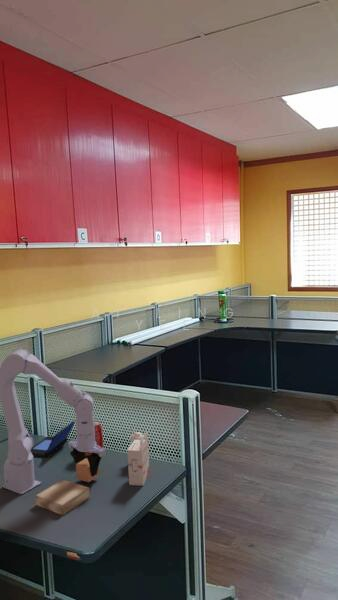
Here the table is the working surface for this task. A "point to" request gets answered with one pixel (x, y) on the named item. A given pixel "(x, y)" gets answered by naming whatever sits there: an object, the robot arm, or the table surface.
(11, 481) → the robot arm
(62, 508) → the birch block
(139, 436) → the white figurine
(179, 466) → the table surface
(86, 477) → the orange cube
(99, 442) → the soda can
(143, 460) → the ink cartridge box
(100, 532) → the table surface
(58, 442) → the handheld game console
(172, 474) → the table surface
